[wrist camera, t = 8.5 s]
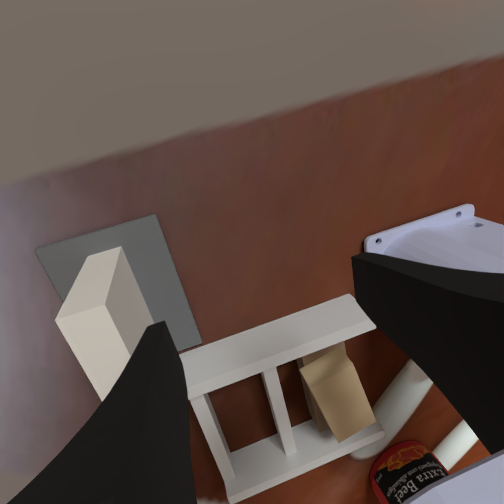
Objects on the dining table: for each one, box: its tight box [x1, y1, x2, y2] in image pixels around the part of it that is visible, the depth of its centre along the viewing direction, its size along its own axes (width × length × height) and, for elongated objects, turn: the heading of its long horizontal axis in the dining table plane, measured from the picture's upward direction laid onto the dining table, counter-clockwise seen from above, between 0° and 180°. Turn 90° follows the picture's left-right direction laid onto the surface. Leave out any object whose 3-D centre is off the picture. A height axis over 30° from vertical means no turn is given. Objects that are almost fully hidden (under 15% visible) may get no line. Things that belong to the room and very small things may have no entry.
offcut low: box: [296, 341, 346, 432], centre depth 28 cm, size 4×9×2 cm, turn 14°
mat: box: [35, 214, 202, 351], centre depth 21 cm, size 7×10×1 cm
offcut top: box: [299, 347, 376, 443], centre depth 26 cm, size 4×7×2 cm, turn 25°
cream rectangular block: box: [55, 246, 154, 402], centre depth 18 cm, size 2×8×7 cm, turn 13°
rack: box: [179, 294, 384, 504], centre depth 26 cm, size 14×13×4 cm
